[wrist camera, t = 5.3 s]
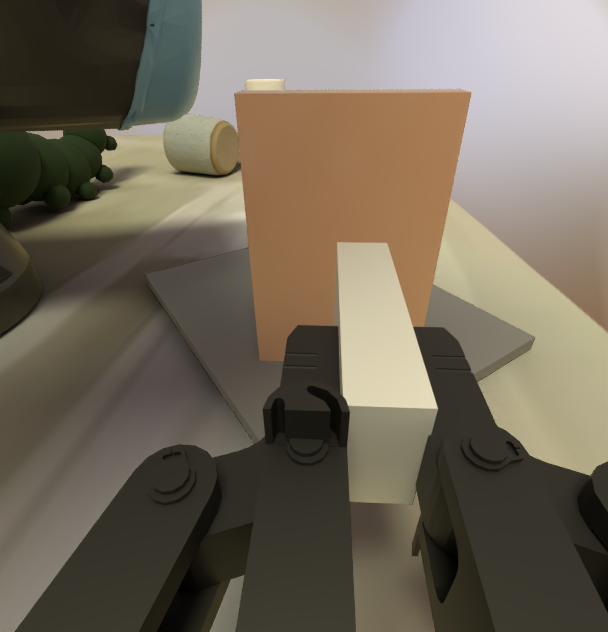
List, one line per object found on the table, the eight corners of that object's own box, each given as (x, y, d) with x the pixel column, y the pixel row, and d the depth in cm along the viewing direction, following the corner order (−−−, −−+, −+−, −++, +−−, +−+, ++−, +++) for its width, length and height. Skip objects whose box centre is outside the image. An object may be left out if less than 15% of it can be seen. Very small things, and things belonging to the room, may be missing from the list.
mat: (147, 283, 29) (144, 274, 28) (323, 236, 36) (323, 227, 35) (290, 497, 15) (289, 485, 14) (530, 348, 22) (535, 337, 21)
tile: (416, 365, 20) (471, 92, 13) (259, 360, 20) (234, 93, 13) (410, 345, 21) (457, 88, 14) (263, 341, 21) (242, 90, 15)
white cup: (267, 139, 78) (264, 81, 72) (241, 135, 82) (236, 80, 76) (293, 134, 83) (292, 79, 77) (267, 130, 87) (264, 78, 81)
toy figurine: (86, 191, 54) (-125, 247, 33) (45, 24, 45) (-284, -47, 24) (146, 196, 52) (-38, 258, 31) (115, 22, 43) (-175, -58, 22)
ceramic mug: (217, 182, 52) (210, 117, 47) (167, 176, 54) (156, 115, 50) (255, 166, 60) (252, 110, 56) (210, 161, 63) (204, 108, 58)
